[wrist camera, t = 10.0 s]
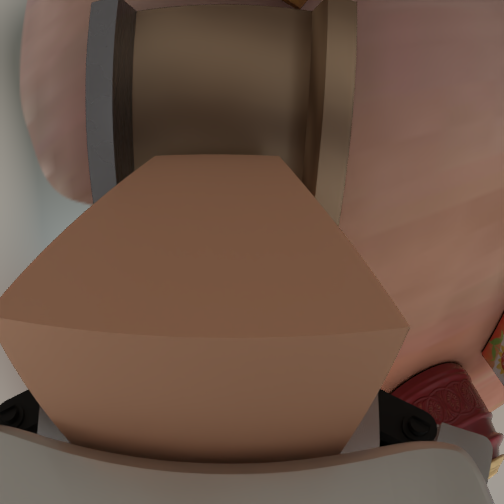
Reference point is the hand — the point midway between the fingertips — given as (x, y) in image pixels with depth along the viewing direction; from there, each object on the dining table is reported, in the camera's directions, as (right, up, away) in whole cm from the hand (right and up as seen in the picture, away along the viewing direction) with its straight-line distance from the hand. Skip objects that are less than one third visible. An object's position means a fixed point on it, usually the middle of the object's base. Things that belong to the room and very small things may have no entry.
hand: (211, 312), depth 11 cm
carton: (0, +2, +3) cm, 4 cm away
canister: (+23, -16, +20) cm, 34 cm away
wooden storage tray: (0, +4, +7) cm, 8 cm away
